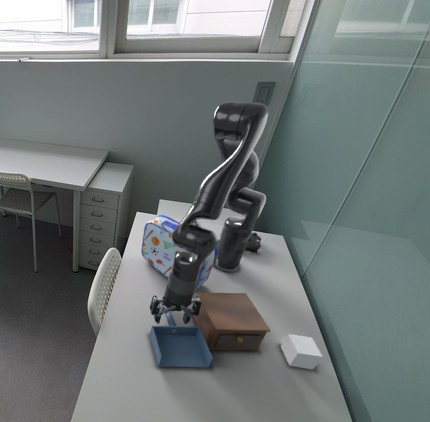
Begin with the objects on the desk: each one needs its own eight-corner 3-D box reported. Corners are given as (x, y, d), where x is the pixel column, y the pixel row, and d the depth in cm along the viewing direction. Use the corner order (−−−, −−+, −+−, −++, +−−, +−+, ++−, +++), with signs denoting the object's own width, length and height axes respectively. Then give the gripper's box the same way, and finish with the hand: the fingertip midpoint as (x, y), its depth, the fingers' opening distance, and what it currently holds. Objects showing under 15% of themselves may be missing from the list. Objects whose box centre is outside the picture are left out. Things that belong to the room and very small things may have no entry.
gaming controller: (235, 225, 136) (262, 228, 131) (234, 236, 139) (260, 239, 134) (232, 241, 126) (261, 245, 121) (231, 253, 129) (259, 258, 123)
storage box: (190, 313, 102) (197, 292, 96) (236, 314, 101) (246, 292, 96) (208, 354, 89) (217, 332, 84) (260, 354, 89) (272, 333, 83)
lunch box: (213, 286, 111) (230, 239, 100) (197, 300, 106) (213, 251, 95) (151, 249, 130) (160, 205, 118) (135, 259, 125) (142, 215, 113)
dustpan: (209, 367, 86) (213, 358, 83) (158, 366, 86) (160, 357, 84) (185, 309, 103) (187, 300, 101) (142, 309, 103) (144, 300, 101)
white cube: (280, 346, 91) (288, 334, 87) (303, 350, 90) (311, 337, 86) (289, 365, 86) (297, 352, 82) (313, 369, 85) (323, 356, 81)
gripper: (201, 275, 90) (189, 312, 99) (153, 275, 91) (145, 311, 99) (211, 295, 84) (197, 332, 92) (159, 294, 84) (150, 331, 93)
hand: (170, 321), depth 96 cm, fingers open, 8 cm apart
